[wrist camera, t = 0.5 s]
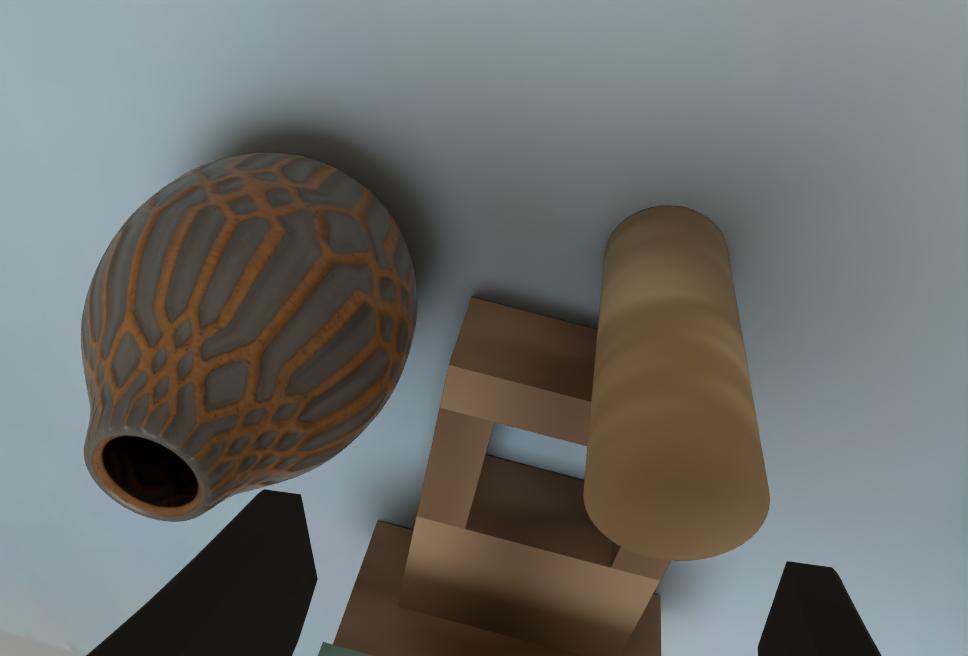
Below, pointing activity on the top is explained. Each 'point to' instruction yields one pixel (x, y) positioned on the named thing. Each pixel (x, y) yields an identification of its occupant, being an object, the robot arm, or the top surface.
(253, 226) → the vase
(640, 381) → the oak peg
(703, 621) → the top surface
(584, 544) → the brown boxy frame piece
